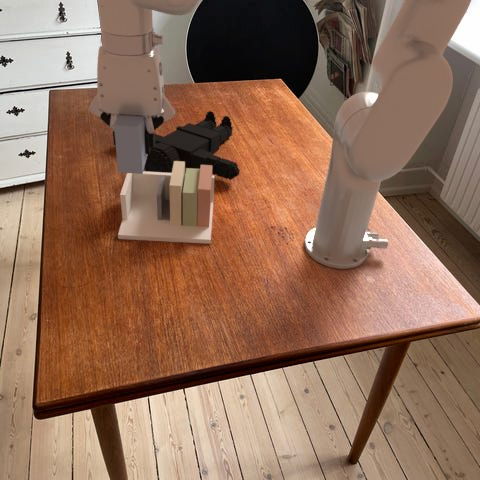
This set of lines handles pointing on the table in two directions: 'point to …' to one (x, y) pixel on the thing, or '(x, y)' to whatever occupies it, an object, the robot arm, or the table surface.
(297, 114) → the table surface
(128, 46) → the robot arm
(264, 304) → the table surface
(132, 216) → the shelf
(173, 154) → the toy
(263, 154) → the table surface
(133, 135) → the grey block
